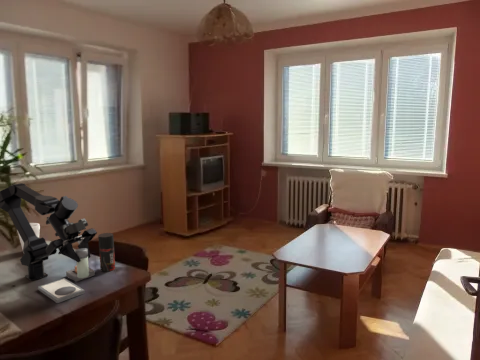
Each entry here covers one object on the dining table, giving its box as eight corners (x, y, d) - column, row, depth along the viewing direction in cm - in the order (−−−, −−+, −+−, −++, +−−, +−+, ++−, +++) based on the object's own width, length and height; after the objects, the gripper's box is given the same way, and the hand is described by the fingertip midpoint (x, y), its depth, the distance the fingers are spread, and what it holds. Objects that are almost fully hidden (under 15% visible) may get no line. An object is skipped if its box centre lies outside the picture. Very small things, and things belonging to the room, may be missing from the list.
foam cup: (28, 248, 186) (25, 222, 183) (46, 248, 185) (43, 223, 182) (15, 254, 176) (12, 228, 174) (33, 255, 175) (31, 228, 173)
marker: (75, 275, 139) (73, 249, 137) (86, 272, 142) (85, 247, 140) (79, 279, 136) (77, 252, 134) (91, 275, 139) (89, 250, 137)
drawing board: (38, 289, 141) (37, 286, 140) (64, 280, 148) (64, 277, 148) (57, 303, 130) (56, 299, 130) (84, 293, 138) (84, 289, 138)
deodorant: (110, 272, 157) (108, 237, 154) (97, 271, 158) (95, 236, 155) (117, 266, 162) (115, 233, 160) (105, 265, 164) (103, 232, 161)
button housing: (66, 276, 153) (66, 271, 152) (85, 270, 159) (84, 265, 158) (75, 281, 148) (75, 276, 147) (94, 275, 154) (94, 270, 153)
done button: (73, 272, 153) (72, 266, 152) (82, 269, 156) (82, 263, 155) (78, 275, 150) (77, 269, 150) (87, 272, 153) (87, 266, 153)
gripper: (48, 219, 129) (72, 255, 126) (92, 207, 145) (114, 239, 142) (35, 237, 134) (58, 273, 131) (79, 224, 150) (100, 255, 147)
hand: (84, 259), depth 137 cm, fingers closed on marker, 4 cm apart
